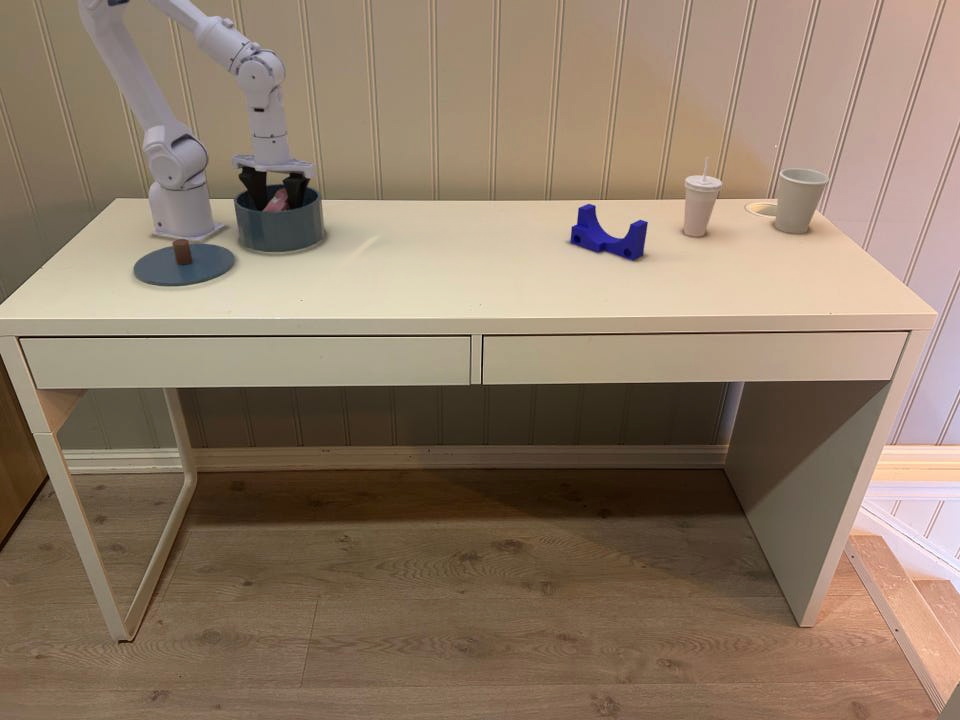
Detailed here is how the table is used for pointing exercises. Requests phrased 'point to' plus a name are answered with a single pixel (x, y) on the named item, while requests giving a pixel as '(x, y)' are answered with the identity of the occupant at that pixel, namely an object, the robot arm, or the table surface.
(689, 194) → the smoothie
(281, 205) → the pink curved piece
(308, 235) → the tin
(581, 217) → the blue cradle bracket
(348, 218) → the table surface
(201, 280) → the lid
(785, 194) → the dixie cup
